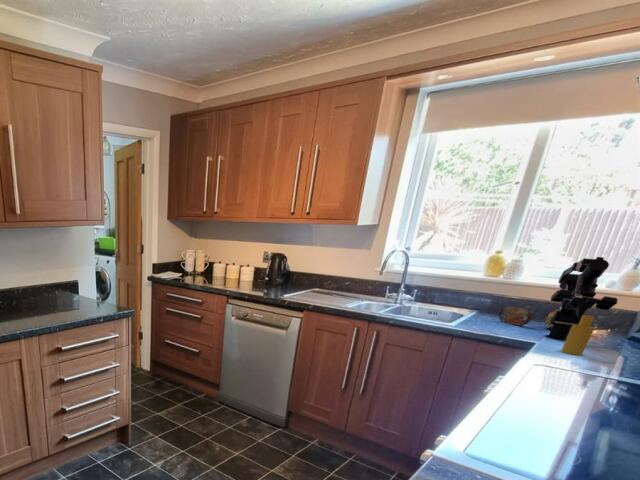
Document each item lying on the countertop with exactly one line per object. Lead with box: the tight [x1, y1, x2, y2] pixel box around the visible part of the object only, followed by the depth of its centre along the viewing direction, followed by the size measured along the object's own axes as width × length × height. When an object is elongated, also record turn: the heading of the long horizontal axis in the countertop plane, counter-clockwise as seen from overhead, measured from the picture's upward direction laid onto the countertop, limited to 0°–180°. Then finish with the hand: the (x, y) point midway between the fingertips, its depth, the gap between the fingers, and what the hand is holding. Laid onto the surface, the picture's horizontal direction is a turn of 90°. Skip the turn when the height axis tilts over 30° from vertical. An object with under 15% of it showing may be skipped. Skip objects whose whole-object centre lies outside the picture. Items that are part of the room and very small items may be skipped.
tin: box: [498, 305, 533, 326], centre depth 218 cm, size 15×3×8 cm, turn 6°
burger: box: [544, 310, 574, 330], centre depth 208 cm, size 14×14×10 cm
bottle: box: [561, 314, 595, 356], centre depth 168 cm, size 6×6×15 cm
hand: (579, 316), depth 174 cm, fingers closed
